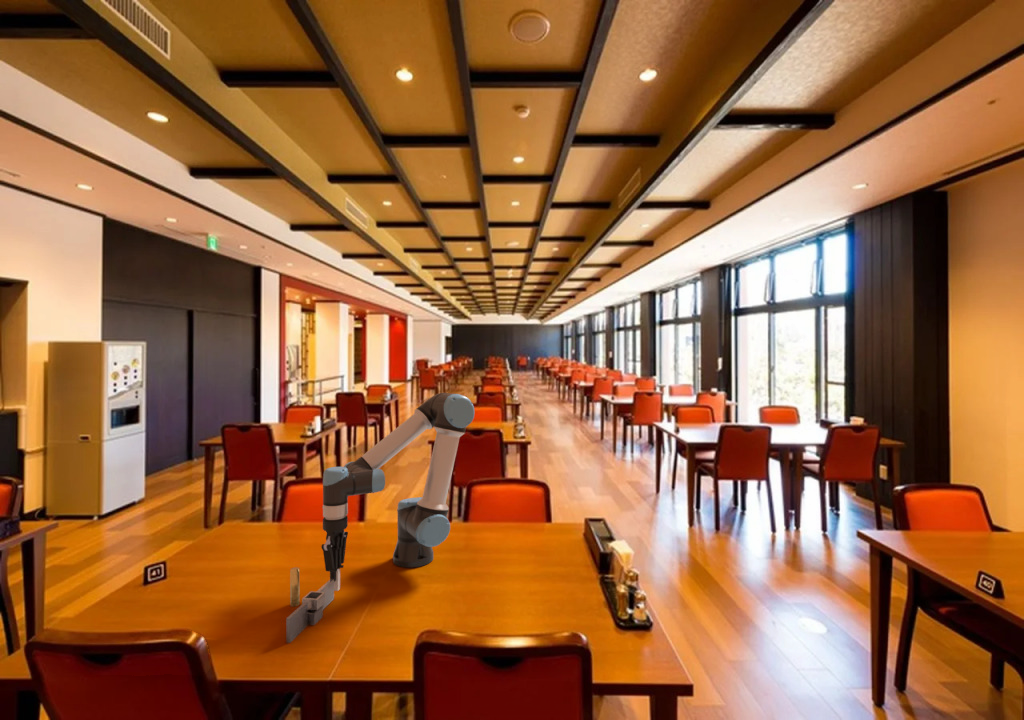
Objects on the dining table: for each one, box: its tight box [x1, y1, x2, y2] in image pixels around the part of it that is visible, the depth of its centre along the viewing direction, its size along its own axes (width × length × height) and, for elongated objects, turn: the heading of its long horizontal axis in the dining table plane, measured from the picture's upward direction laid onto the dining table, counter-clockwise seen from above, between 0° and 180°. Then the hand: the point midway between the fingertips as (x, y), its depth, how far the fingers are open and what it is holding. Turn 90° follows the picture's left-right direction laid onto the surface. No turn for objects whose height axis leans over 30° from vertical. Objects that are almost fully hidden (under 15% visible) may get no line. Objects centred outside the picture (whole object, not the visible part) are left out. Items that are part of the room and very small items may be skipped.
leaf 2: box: [285, 602, 324, 644], centre depth 138 cm, size 14×5×7 cm, turn 172°
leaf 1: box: [301, 578, 335, 610], centre depth 148 cm, size 13×5×6 cm, turn 172°
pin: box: [289, 566, 301, 608], centre depth 152 cm, size 3×3×11 cm
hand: (335, 589), depth 157 cm, fingers closed
